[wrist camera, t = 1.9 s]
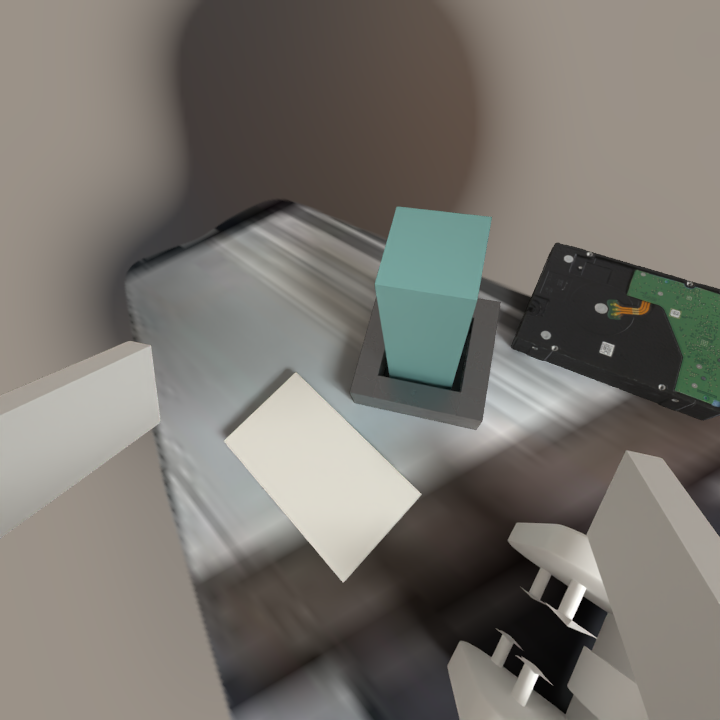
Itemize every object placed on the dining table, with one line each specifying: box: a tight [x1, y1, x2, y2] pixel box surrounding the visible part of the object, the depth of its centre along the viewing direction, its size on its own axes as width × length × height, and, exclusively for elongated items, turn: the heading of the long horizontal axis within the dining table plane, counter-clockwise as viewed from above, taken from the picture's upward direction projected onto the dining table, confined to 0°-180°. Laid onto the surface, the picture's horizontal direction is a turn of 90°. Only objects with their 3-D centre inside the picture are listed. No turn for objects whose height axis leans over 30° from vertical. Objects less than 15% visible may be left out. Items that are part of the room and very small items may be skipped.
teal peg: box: [375, 207, 492, 390], centre depth 27 cm, size 5×5×15 cm
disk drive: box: [511, 243, 720, 420], centre depth 32 cm, size 10×3×15 cm
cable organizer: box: [448, 523, 649, 720], centre depth 19 cm, size 15×11×12 cm
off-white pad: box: [224, 372, 421, 582], centre depth 30 cm, size 14×8×2 cm, turn 46°
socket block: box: [350, 296, 501, 430], centre depth 32 cm, size 10×10×3 cm
